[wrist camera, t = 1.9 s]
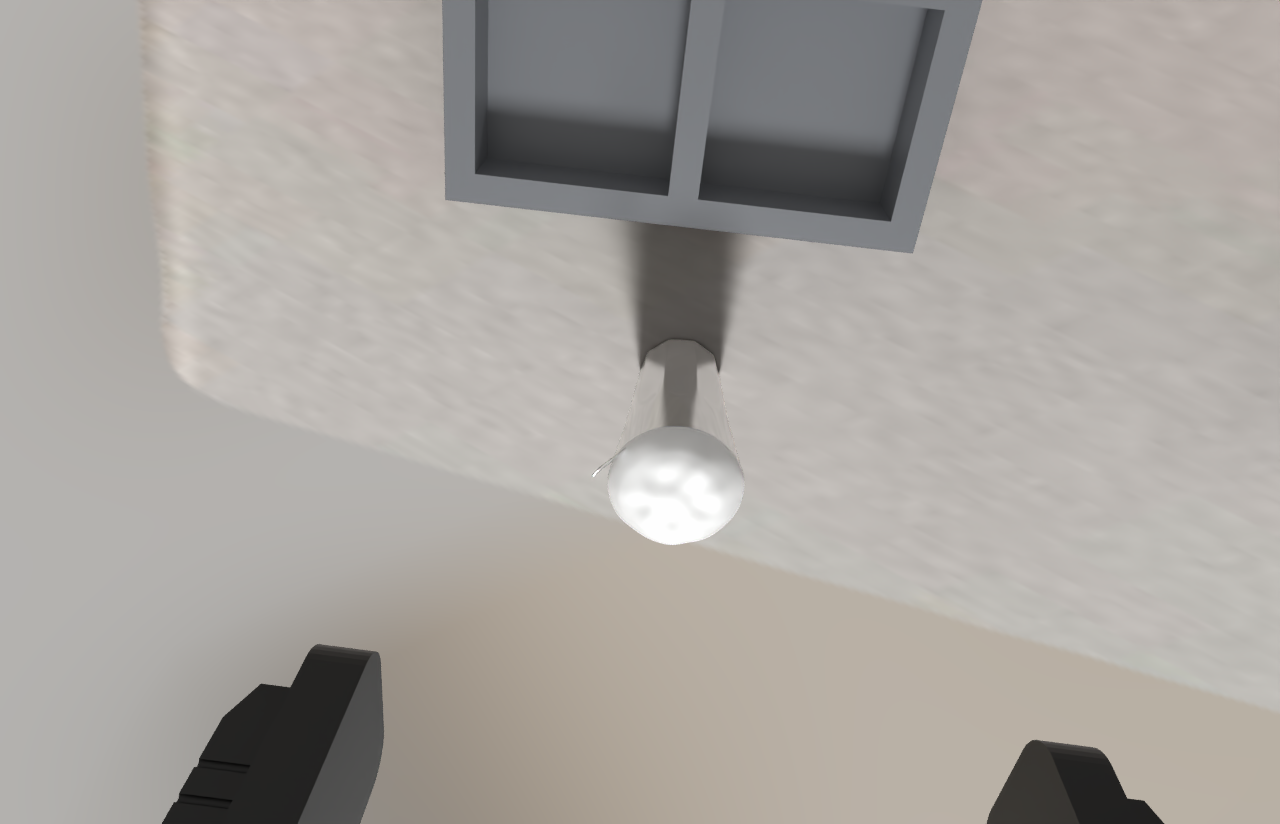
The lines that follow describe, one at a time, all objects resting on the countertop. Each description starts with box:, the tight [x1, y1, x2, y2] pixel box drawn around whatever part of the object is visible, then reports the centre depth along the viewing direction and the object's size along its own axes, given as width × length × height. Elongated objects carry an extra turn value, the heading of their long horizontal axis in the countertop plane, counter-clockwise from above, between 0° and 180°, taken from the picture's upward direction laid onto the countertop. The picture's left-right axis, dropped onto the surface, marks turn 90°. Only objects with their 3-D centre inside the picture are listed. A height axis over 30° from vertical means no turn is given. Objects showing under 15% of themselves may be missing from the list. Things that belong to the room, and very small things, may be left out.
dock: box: [442, 0, 982, 253], centre depth 28 cm, size 16×12×3 cm
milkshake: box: [592, 339, 744, 545], centre depth 32 cm, size 5×5×10 cm
